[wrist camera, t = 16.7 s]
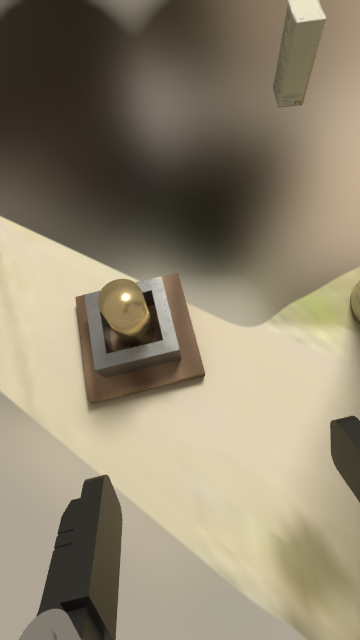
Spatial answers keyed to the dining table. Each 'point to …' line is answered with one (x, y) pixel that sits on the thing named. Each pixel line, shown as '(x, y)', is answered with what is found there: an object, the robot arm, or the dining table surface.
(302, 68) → the skincare box
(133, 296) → the gold dome cylinder
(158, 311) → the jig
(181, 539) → the dining table surface
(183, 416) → the dining table surface
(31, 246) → the dining table surface
